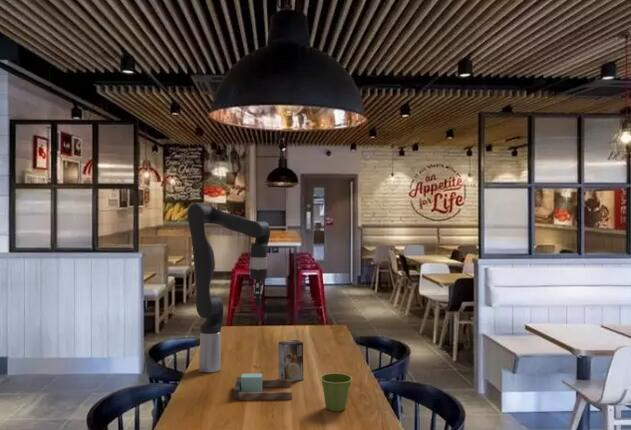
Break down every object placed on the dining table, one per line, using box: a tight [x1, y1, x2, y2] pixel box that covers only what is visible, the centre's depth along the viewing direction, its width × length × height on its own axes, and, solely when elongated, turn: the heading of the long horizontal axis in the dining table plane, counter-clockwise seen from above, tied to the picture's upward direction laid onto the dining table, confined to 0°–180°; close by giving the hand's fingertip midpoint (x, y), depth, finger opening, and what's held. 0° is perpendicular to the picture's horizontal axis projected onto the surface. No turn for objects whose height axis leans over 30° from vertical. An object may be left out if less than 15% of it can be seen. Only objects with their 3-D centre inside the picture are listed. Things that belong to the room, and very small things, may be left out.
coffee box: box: [277, 339, 304, 383], centre depth 243 cm, size 9×6×16 cm
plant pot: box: [319, 372, 353, 412], centre depth 208 cm, size 12×12×11 cm
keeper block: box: [240, 373, 263, 392], centre depth 225 cm, size 8×5×7 cm, turn 93°
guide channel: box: [233, 376, 293, 401], centre depth 226 cm, size 22×16×4 cm
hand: (258, 304), depth 247 cm, fingers open, 8 cm apart
